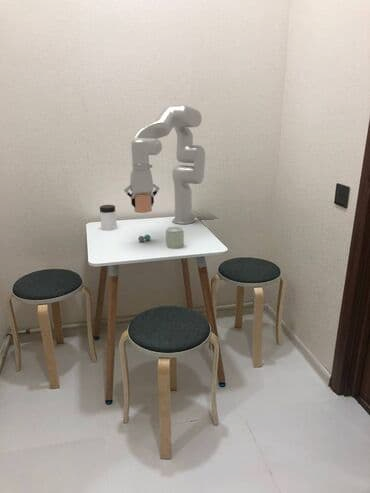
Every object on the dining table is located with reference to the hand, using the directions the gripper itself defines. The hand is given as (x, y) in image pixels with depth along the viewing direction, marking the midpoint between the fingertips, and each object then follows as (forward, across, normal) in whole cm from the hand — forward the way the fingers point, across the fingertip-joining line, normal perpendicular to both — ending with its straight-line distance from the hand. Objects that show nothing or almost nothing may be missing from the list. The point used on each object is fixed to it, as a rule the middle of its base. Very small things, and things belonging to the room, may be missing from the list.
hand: (142, 205), depth 184 cm
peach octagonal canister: (+2, 0, 0) cm, 2 cm away
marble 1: (+17, +1, +1) cm, 17 cm away
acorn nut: (+18, -12, +11) cm, 24 cm away
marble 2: (+17, -2, 0) cm, 17 cm away
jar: (+18, +13, -31) cm, 38 cm away
